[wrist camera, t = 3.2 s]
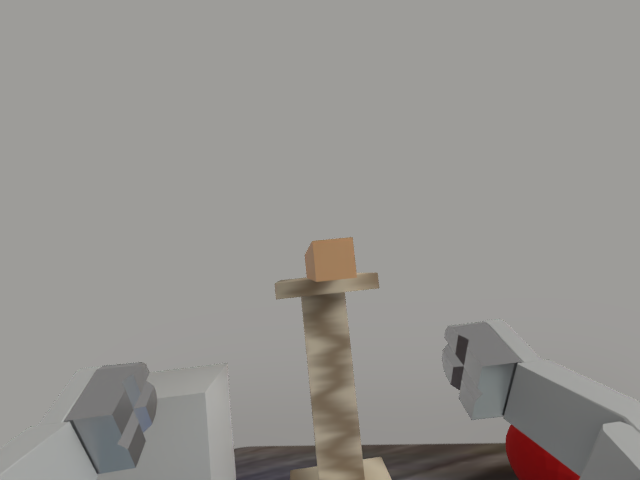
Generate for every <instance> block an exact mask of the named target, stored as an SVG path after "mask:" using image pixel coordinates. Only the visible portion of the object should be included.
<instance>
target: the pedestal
mask: <svg viewBox="0 0 640 480" xmlns="http://www.w3.org/2000/svg"><path fill="white" fill-rule="evenodd" d="M146 381H148V382H149V383H151V384H152V385H154V387H155V390H156V394H157V409H156V415H155V418H154V421H153V423H152V425H151V426H150V427H149V428H148V429H147V430H146V431H145V432H144V433H143V434H144V437H145V440H146V442H145V445H144V448H143V450H142V453H141V456H140V458H139V461H138V464H137V466H136V468H132V469H126V470H120V471H114V472H109V473H103V474H98V477H97V478H96V480H236V472H235V459H234V446H233V433H232V420H231V408H230V407H231V406H230V393H229V380H228V366H227V363H223V364H216V365H207V366H198V367H190V368H182V369H174V370H166V371H157V372H149V376H148V378H147V380H146Z"/></svg>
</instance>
